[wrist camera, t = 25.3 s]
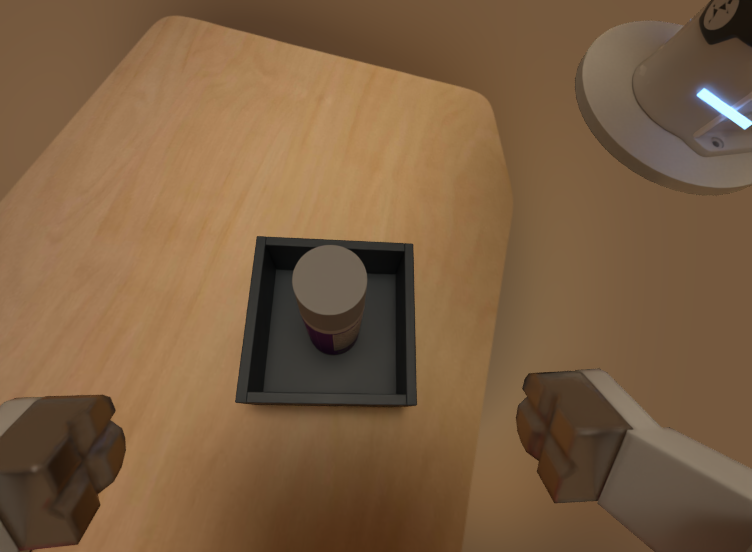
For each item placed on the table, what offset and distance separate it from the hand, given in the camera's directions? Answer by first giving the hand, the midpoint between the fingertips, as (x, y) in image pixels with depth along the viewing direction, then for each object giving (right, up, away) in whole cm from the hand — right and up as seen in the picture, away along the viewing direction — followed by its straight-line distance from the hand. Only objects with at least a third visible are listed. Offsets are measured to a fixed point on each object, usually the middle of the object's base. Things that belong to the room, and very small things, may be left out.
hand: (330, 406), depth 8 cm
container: (-3, -3, +29) cm, 29 cm away
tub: (-3, -3, +30) cm, 30 cm away
